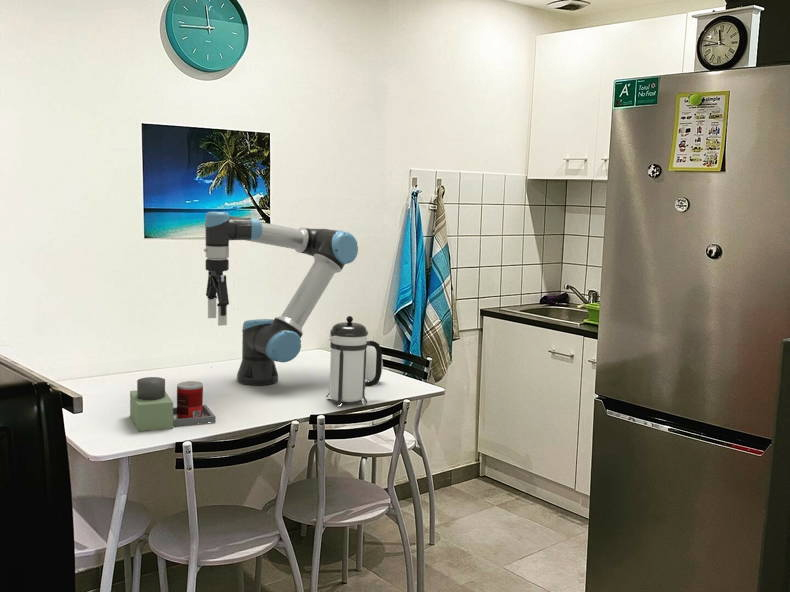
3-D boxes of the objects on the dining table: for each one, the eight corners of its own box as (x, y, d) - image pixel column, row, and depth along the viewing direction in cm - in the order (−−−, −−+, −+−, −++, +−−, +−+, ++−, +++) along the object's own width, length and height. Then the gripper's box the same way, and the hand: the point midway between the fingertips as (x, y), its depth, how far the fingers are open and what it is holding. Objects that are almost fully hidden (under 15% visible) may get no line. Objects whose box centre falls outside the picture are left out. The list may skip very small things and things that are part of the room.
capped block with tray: (204, 409, 249) (205, 370, 247) (216, 424, 235) (217, 382, 233) (130, 416, 239) (130, 375, 237) (137, 431, 225) (137, 388, 223)
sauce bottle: (381, 385, 289) (383, 338, 286) (360, 384, 289) (362, 337, 286) (382, 380, 296) (384, 334, 294) (362, 379, 297) (364, 333, 294)
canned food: (204, 415, 243) (205, 381, 241) (199, 423, 235) (199, 388, 234) (180, 414, 243) (180, 380, 241) (174, 422, 235) (174, 387, 233)
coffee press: (359, 411, 255) (363, 322, 251) (316, 404, 261) (319, 316, 257) (380, 399, 271) (384, 314, 267) (340, 392, 277) (343, 310, 273)
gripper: (197, 254, 265) (197, 315, 268) (215, 263, 243) (215, 329, 247) (218, 254, 269) (218, 314, 272) (238, 262, 247) (238, 327, 250)
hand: (217, 321), depth 259 cm, fingers open, 13 cm apart
